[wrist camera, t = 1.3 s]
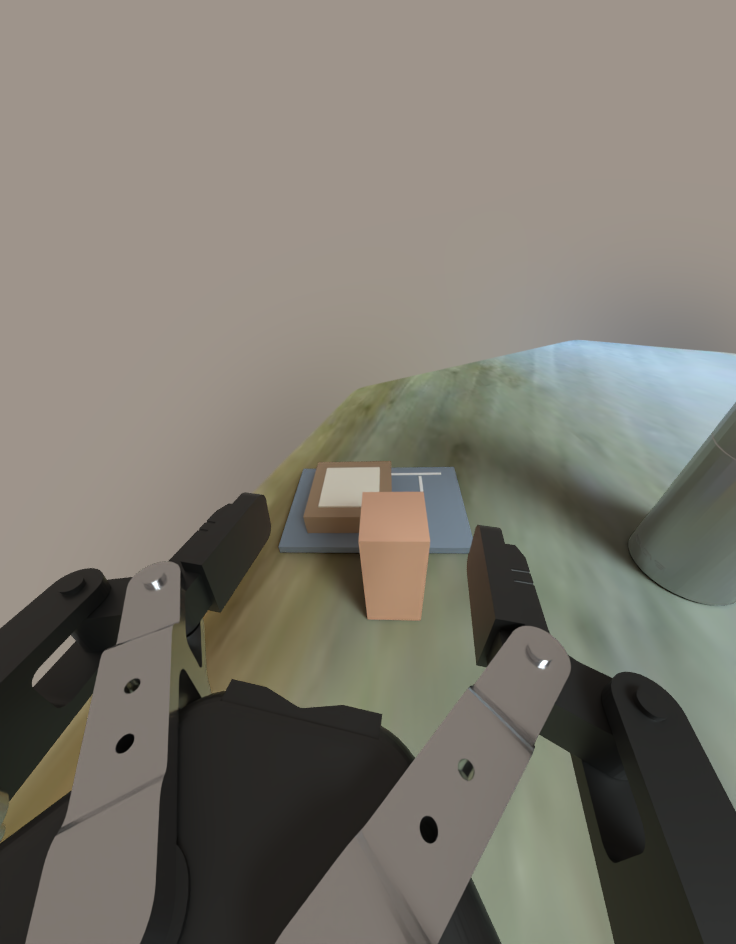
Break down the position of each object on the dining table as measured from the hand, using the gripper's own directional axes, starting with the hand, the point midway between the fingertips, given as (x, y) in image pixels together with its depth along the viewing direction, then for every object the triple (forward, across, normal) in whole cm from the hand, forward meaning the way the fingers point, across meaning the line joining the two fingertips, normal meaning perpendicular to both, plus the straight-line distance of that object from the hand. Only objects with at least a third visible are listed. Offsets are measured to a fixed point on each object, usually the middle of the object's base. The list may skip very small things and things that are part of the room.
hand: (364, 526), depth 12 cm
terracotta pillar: (+11, -1, +19) cm, 22 cm away
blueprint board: (+23, +3, +18) cm, 29 cm away
